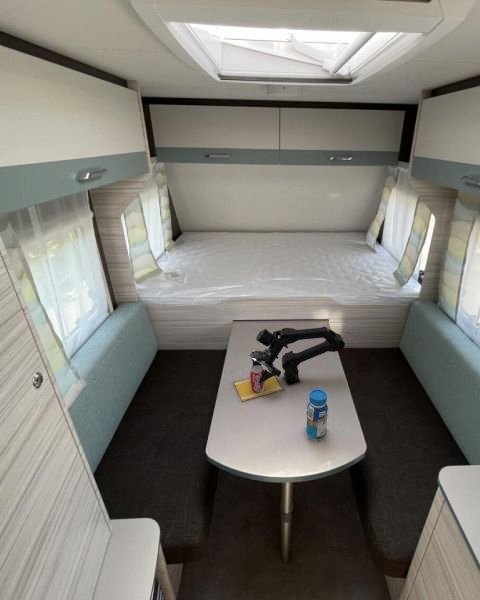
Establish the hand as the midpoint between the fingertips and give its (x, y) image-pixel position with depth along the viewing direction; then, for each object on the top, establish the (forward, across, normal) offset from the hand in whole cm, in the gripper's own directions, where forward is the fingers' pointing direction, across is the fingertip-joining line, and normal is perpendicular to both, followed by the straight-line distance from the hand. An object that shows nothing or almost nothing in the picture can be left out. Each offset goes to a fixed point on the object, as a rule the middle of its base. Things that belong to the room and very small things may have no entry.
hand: (255, 379), depth 153 cm
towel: (+3, -2, +7) cm, 8 cm away
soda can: (+4, 0, +6) cm, 7 cm away
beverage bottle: (+2, +37, +9) cm, 38 cm away
